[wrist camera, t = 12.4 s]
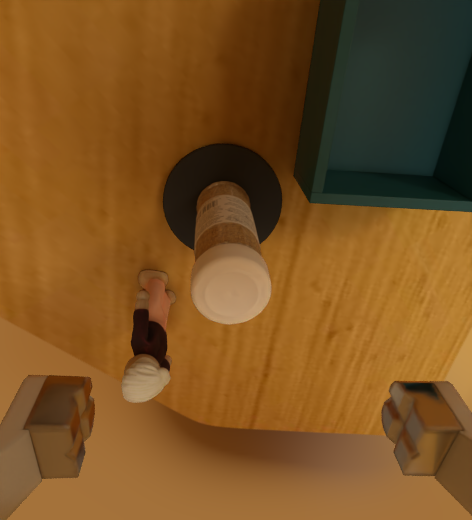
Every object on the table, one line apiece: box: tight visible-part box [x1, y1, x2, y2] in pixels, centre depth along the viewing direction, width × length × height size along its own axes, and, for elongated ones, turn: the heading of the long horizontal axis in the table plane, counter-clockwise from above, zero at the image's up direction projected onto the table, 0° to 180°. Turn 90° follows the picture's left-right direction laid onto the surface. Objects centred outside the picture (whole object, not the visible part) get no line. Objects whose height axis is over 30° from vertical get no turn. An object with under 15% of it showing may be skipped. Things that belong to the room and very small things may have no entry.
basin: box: [294, 0, 472, 212], centre depth 28 cm, size 16×13×6 cm
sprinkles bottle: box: [191, 181, 271, 324], centre depth 28 cm, size 5×5×13 cm
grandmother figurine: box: [122, 270, 176, 403], centre depth 33 cm, size 8×4×13 cm, turn 22°
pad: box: [163, 144, 282, 250], centre depth 34 cm, size 10×10×1 cm
